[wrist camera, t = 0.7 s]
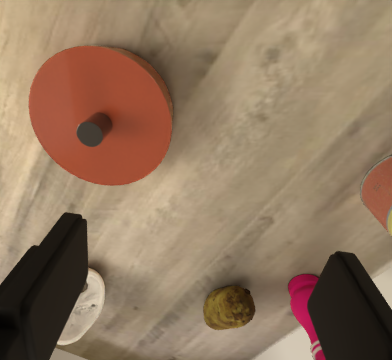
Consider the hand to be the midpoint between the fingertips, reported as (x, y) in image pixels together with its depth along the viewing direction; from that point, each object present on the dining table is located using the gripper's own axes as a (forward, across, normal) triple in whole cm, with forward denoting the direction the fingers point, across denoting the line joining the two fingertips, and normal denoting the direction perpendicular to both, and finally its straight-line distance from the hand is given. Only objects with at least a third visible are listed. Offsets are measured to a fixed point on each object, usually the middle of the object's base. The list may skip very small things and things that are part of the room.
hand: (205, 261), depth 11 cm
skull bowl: (+33, +18, +42) cm, 56 cm away
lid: (+26, +12, +4) cm, 30 cm away
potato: (+33, -11, +38) cm, 51 cm away
